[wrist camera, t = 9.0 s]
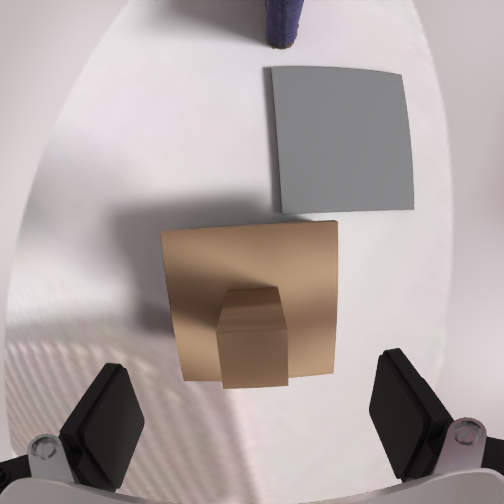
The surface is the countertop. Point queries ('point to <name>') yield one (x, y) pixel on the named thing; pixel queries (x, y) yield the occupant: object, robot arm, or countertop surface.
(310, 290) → the lid
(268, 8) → the flask
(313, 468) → the countertop surface
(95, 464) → the robot arm
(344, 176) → the mat
